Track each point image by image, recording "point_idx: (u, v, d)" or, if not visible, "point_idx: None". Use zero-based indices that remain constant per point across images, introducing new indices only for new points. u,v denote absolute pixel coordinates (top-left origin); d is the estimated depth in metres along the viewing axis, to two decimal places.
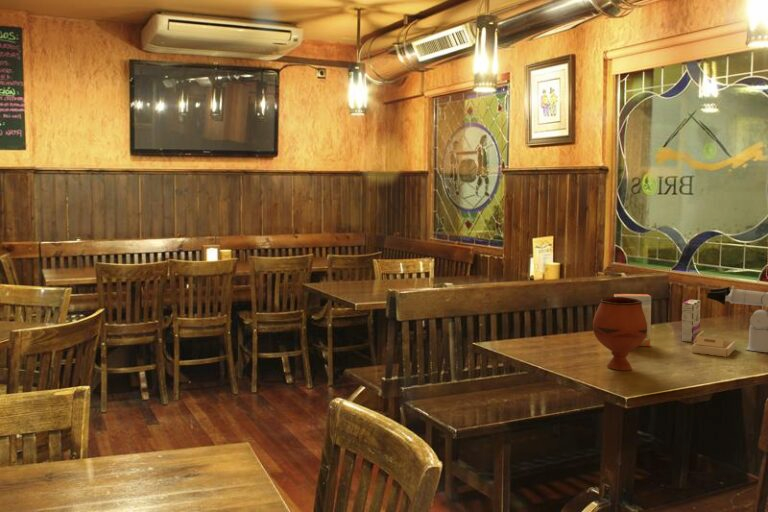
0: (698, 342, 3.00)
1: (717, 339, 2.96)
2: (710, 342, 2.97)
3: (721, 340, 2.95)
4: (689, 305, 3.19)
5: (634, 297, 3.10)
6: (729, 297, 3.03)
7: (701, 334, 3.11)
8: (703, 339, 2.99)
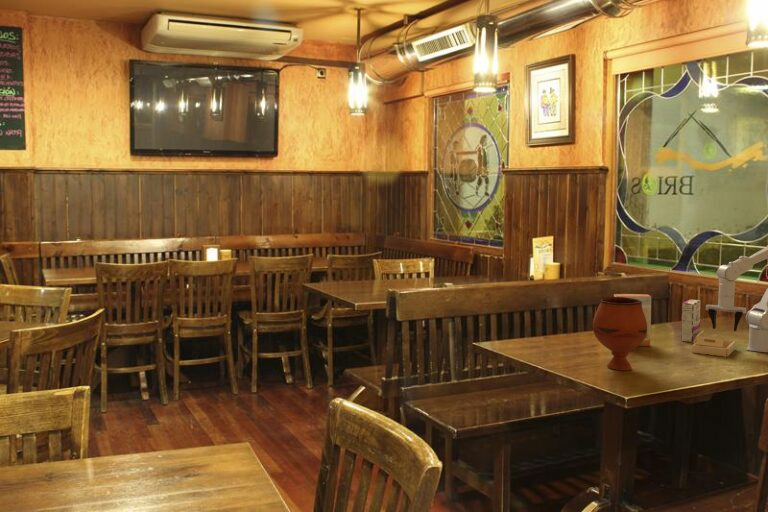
0: (698, 342, 3.00)
1: (717, 339, 2.96)
2: (710, 342, 2.97)
3: (721, 340, 2.95)
4: (689, 305, 3.19)
5: (634, 297, 3.10)
6: (745, 309, 2.97)
7: (701, 334, 3.11)
8: (703, 339, 2.99)
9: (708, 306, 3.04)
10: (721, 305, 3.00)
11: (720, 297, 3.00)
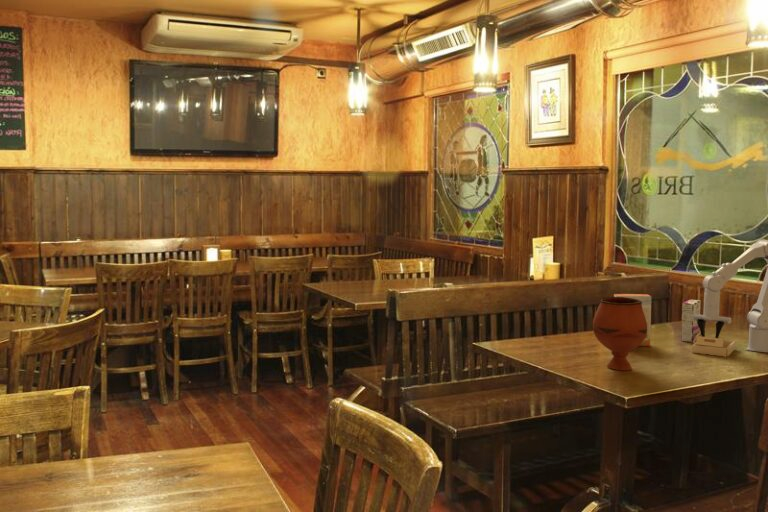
0: (698, 342, 3.00)
1: (717, 339, 2.96)
2: (710, 342, 2.97)
3: (721, 340, 2.95)
4: (689, 305, 3.19)
5: (634, 297, 3.10)
6: (730, 319, 3.01)
7: None
8: (703, 339, 2.99)
9: (693, 316, 3.08)
10: (706, 315, 3.03)
11: (705, 307, 3.04)
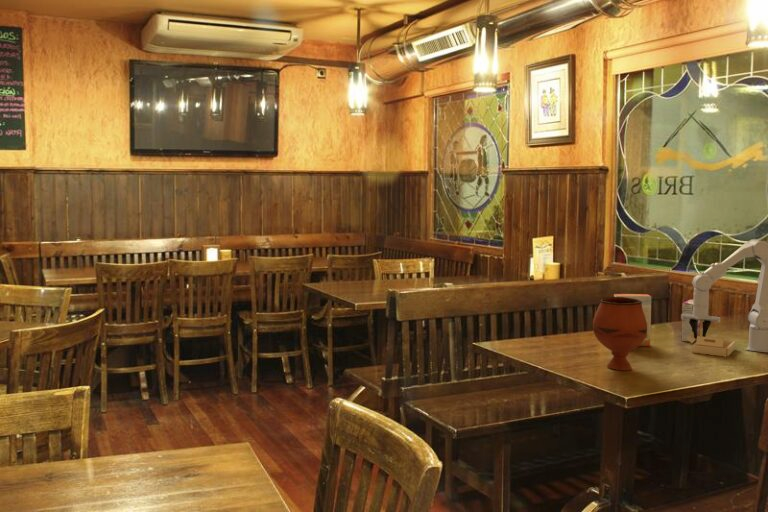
0: (698, 342, 3.00)
1: (717, 339, 2.96)
2: (710, 342, 2.97)
3: (721, 340, 2.95)
4: (689, 305, 3.19)
5: (634, 297, 3.10)
6: (719, 319, 3.03)
7: None
8: (703, 339, 2.99)
9: (683, 316, 3.10)
10: (696, 315, 3.06)
11: (694, 307, 3.06)
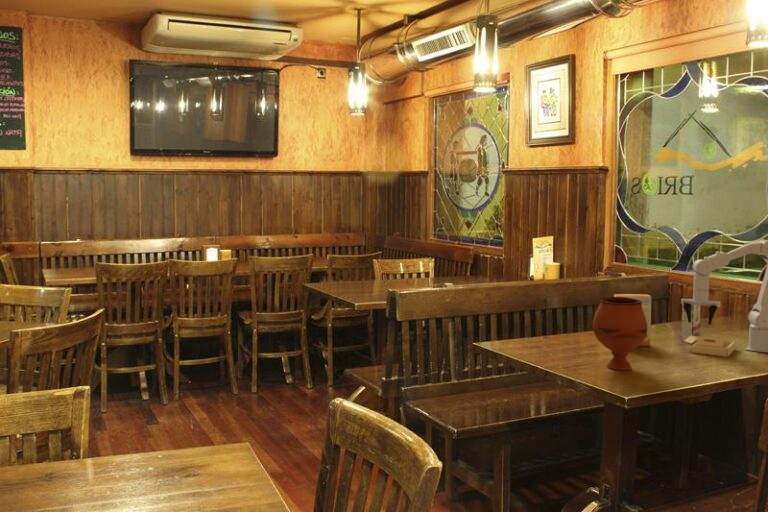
0: (698, 342, 3.00)
1: (717, 339, 2.96)
2: (710, 342, 2.97)
3: (721, 340, 2.95)
4: None
5: (634, 297, 3.10)
6: (719, 303, 3.02)
7: (693, 336, 3.13)
8: (703, 339, 2.99)
9: (683, 300, 3.09)
10: (696, 299, 3.05)
11: (695, 291, 3.05)
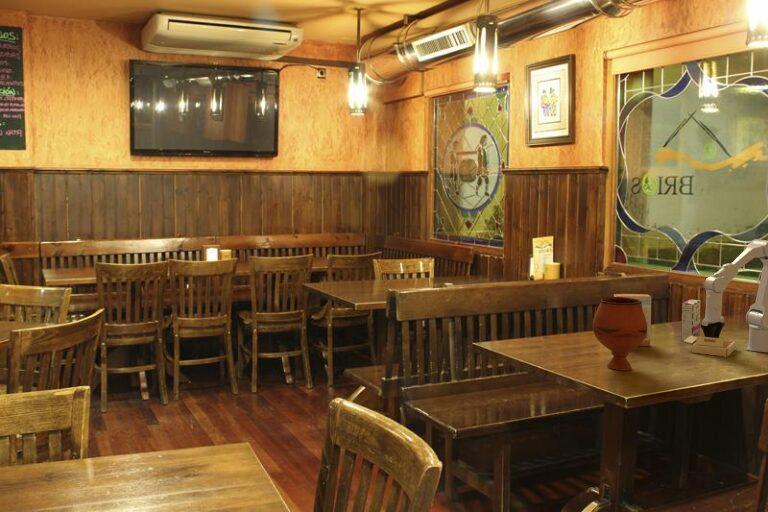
0: (698, 342, 2.99)
1: (717, 339, 2.96)
2: (710, 342, 2.97)
3: (721, 340, 2.95)
4: (689, 305, 3.19)
5: (634, 297, 3.10)
6: None
7: (693, 336, 3.13)
8: (703, 339, 2.99)
9: (708, 321, 2.95)
10: (718, 317, 2.97)
11: (717, 310, 2.97)
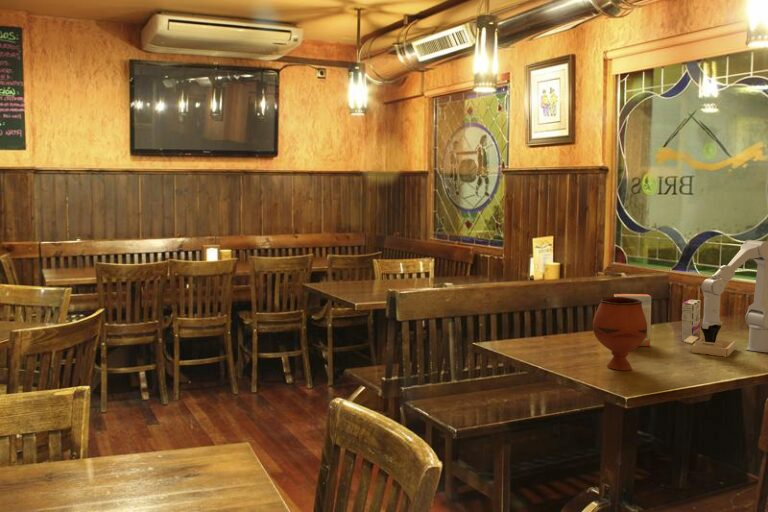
0: (697, 344, 2.98)
1: (715, 344, 2.93)
2: (709, 345, 2.96)
3: (719, 344, 2.93)
4: (689, 305, 3.19)
5: (634, 297, 3.10)
6: None
7: (693, 336, 3.13)
8: (701, 343, 2.96)
9: (708, 324, 2.91)
10: (717, 320, 2.94)
11: (716, 312, 2.94)
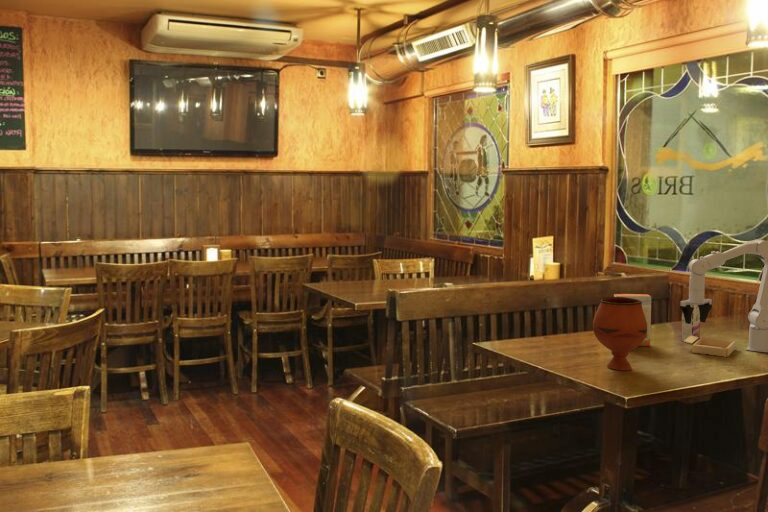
0: None
1: None
2: (709, 347, 2.96)
3: (719, 348, 2.93)
4: None
5: (634, 297, 3.10)
6: None
7: (693, 336, 3.13)
8: (701, 346, 2.96)
9: (686, 302, 3.04)
10: (699, 299, 3.04)
11: (697, 291, 3.04)
